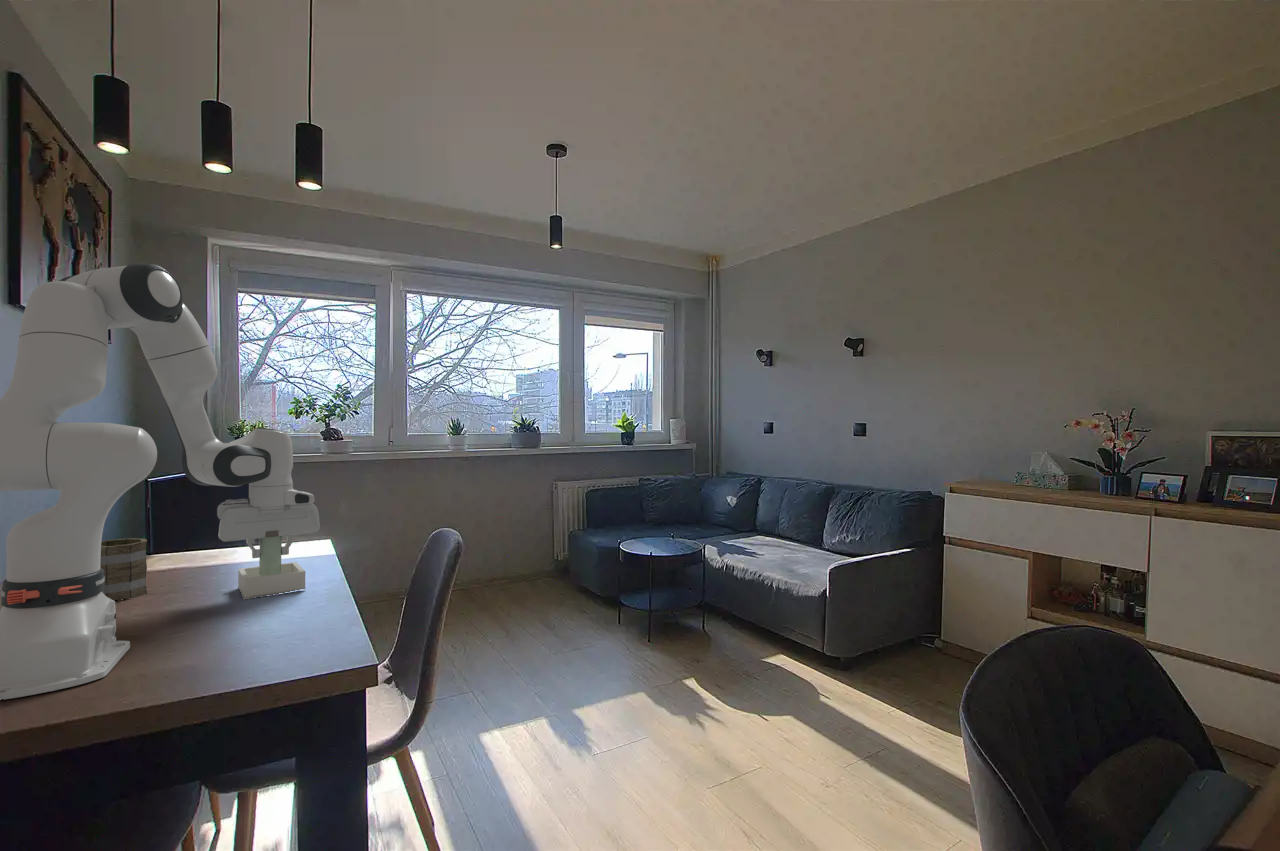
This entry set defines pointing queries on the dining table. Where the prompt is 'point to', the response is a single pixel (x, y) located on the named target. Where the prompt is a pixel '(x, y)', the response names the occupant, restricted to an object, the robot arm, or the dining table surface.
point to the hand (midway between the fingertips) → (270, 556)
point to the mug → (124, 567)
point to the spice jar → (270, 554)
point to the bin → (270, 581)
